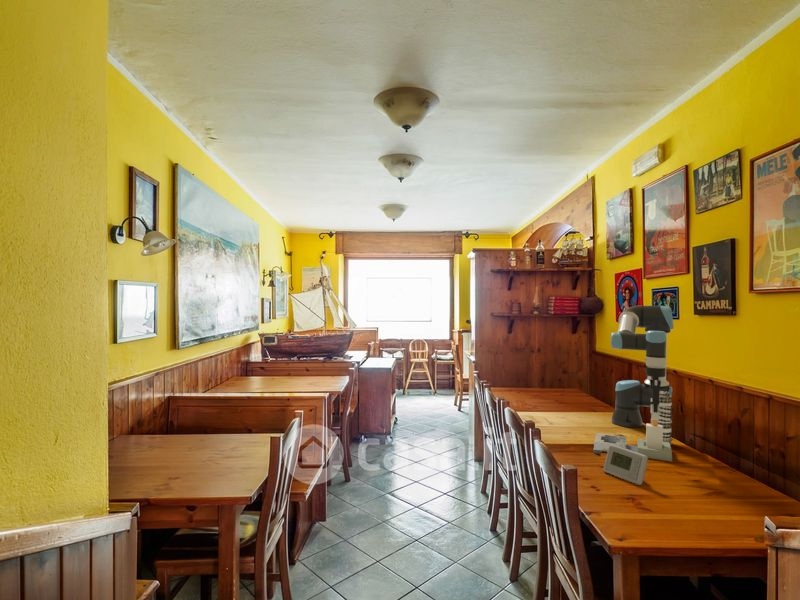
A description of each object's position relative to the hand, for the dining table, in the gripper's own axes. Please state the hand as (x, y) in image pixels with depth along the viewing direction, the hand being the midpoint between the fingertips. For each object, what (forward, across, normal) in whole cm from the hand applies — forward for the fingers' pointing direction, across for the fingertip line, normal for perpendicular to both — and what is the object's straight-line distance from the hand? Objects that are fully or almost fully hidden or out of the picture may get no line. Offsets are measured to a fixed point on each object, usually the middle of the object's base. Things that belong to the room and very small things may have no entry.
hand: (654, 416), depth 198 cm
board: (+17, 0, -8) cm, 19 cm away
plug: (+16, 0, 0) cm, 16 cm away
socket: (+16, 0, -17) cm, 23 cm away
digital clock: (+18, +32, -11) cm, 38 cm away
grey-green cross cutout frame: (+16, 0, 0) cm, 16 cm away
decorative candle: (+17, -20, +4) cm, 26 cm away
